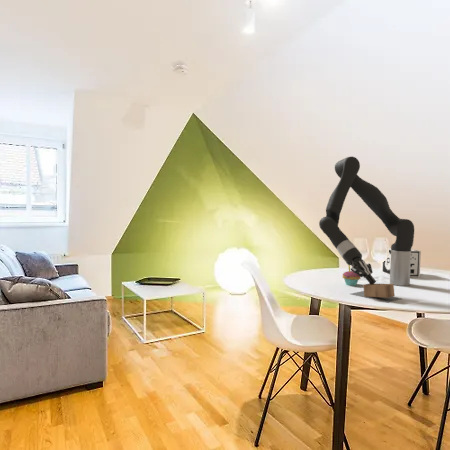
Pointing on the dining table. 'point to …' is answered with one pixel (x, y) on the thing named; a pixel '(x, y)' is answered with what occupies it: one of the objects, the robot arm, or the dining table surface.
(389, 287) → the walnut block
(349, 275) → the cupcake
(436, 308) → the dining table surface
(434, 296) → the dining table surface
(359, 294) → the mat
